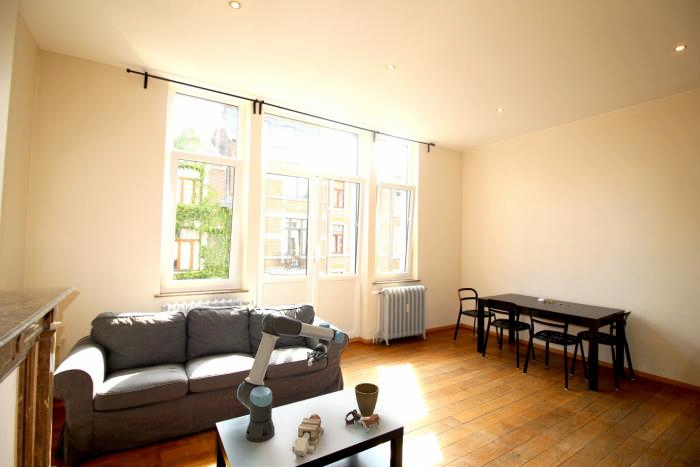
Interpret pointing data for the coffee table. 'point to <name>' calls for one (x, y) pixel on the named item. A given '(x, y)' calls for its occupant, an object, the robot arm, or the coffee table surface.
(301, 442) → the block
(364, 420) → the bull figurine
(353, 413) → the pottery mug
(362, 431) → the coffee table surface
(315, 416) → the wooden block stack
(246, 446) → the coffee table surface
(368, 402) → the plant pot
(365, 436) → the coffee table surface
